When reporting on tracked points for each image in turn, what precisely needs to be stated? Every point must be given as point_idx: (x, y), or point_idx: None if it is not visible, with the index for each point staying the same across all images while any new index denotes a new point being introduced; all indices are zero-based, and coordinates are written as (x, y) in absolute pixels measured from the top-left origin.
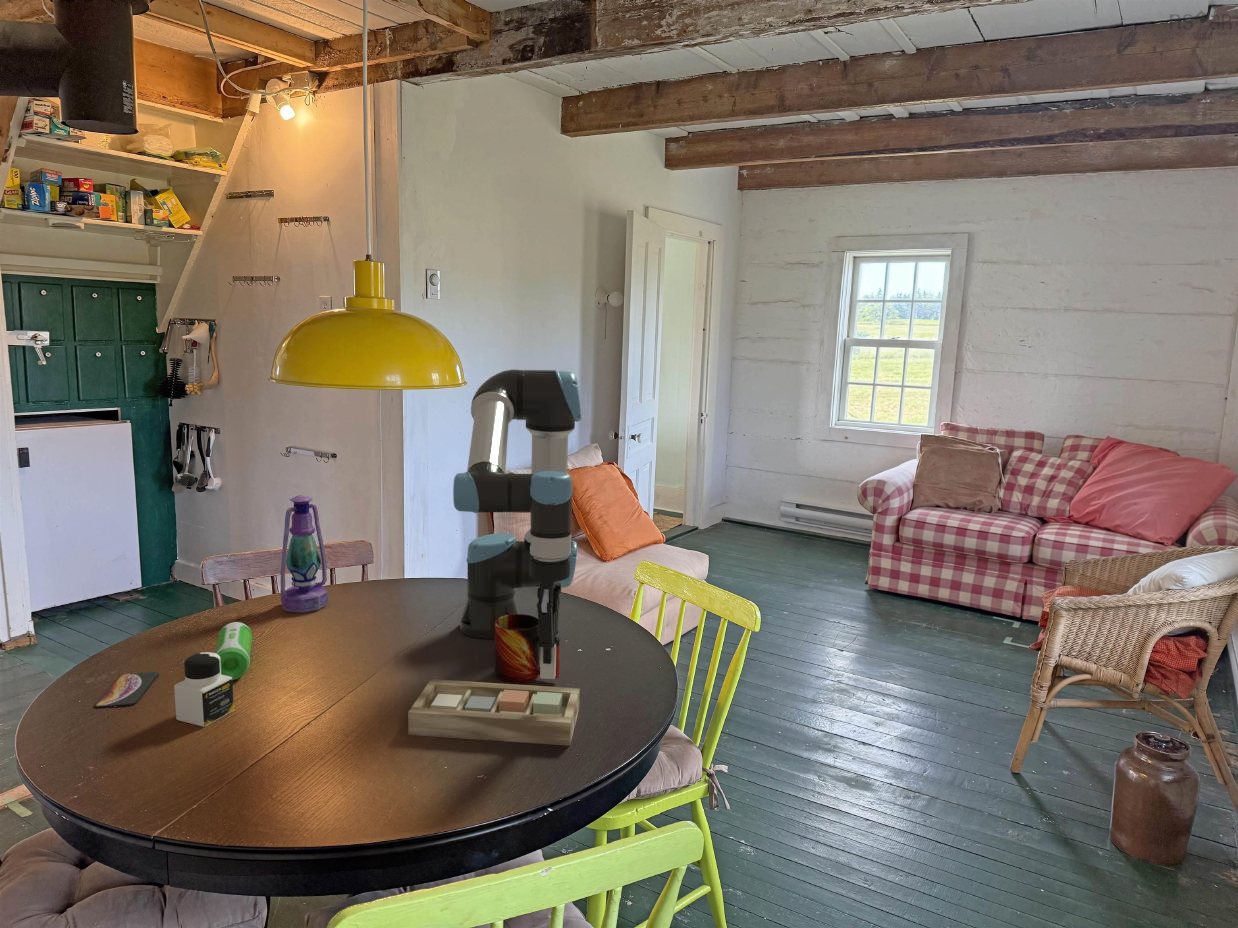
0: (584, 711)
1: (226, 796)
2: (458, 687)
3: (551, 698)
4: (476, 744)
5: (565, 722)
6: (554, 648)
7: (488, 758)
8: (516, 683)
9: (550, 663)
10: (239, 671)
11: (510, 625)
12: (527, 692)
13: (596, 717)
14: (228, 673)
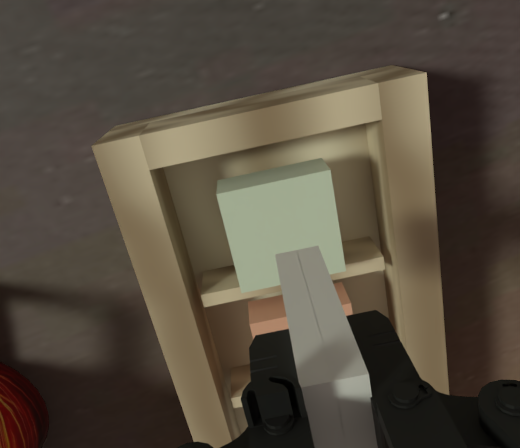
0: (119, 100)
1: None
2: None
3: (281, 219)
4: (445, 336)
5: (427, 95)
6: (364, 363)
7: (515, 277)
8: (37, 391)
9: (378, 311)
10: None
11: None
12: (261, 324)
13: (146, 35)
14: None
